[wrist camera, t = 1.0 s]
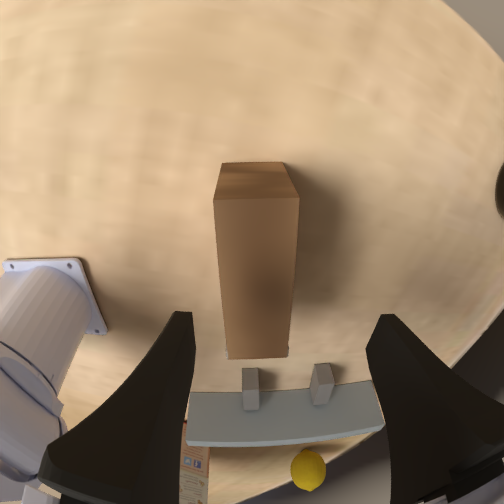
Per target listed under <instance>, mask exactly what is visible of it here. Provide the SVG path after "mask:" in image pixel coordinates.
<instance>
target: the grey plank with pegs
mask: <svg viewBox="0 0 504 504" xmlns="http://www.w3.org/2000/svg"><path fill="white" fill-rule="evenodd" d="M334 384H335V382H334V378H333V374H332V370H331V366H330V363H324V364H315V366H314V370H313V374H312V378H311V382H310V388H309V389H298V390H286V391H269V392H259V380H258V368H245V369H242V392H241V393H205V392H190V399H189V408H188V418H187V427H186V438H185V441H186V443H187V445H188V446H205V447H259V446H277V445H290V444H300V443H309V442H318V441H325V440H332V439H338V438H344V437H350V436H355V435H360V434H365V433H370V432H375V431H379V430H381V429H382V427H383V426H384V425H385V423H384V420H383V417H382V414H381V410H380V407H379V404H378V401H377V398H376V395H375V392H374V389H373V386H372V383H371V380H370V381H364V382H357V383H351V384H344V385H336V386H334Z"/></svg>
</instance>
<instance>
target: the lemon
mask: <svg viewBox="0 0 504 504" xmlns="http://www.w3.org/2000/svg"><path fill="white" fill-rule="evenodd" d="M290 470H291V476H292V479H293V481H294V483H295V484H296V485H297V486H298V487H299V488H302V489H305V490H308V491H313V490H314V489H315V488H316V487H318V486H319V485H320V484H321V483H322V482H323V480H324V478H325V473H326V467H325V463H324V460H323V459H322V457H321V456H320V455H319V454H318V453H316V452H312V451H309V450H308V449H304V450H303V451H302V452H301V453H300V454H298V455H297V456H296V457H295V458H294V459H293V461H292V463H291V469H290Z"/></svg>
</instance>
